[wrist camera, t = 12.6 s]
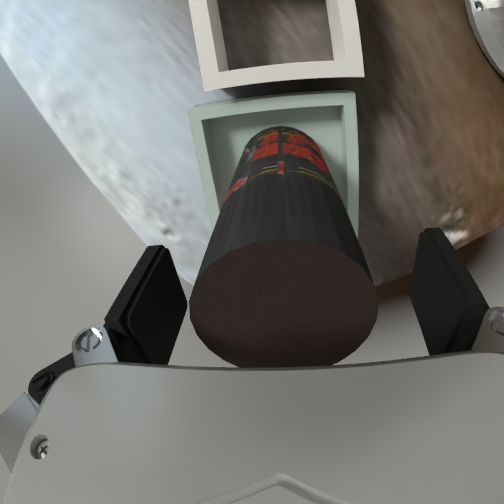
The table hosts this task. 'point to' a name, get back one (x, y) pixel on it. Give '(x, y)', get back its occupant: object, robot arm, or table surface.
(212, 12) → the holder
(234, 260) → the deodorant
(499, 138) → the table surface
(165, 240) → the table surface
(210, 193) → the tray
